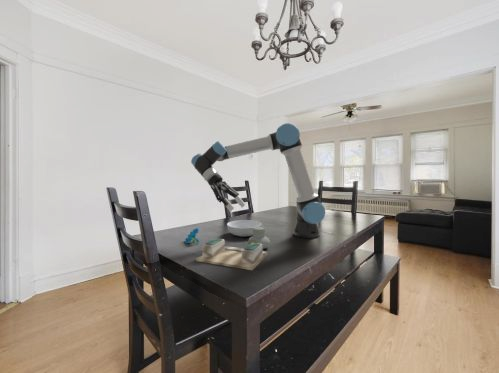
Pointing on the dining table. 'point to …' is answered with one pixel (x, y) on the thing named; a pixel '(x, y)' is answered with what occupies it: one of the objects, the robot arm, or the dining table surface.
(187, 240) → the gear
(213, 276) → the dining table surface
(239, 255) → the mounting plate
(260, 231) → the air freshener
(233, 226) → the serving bowl
